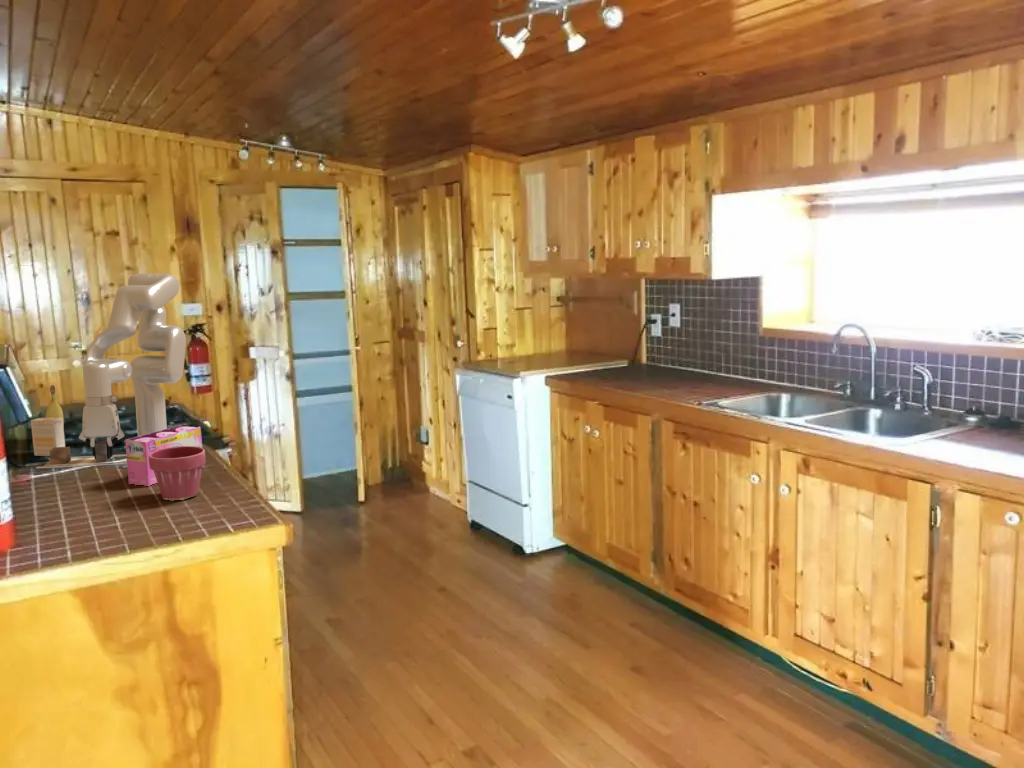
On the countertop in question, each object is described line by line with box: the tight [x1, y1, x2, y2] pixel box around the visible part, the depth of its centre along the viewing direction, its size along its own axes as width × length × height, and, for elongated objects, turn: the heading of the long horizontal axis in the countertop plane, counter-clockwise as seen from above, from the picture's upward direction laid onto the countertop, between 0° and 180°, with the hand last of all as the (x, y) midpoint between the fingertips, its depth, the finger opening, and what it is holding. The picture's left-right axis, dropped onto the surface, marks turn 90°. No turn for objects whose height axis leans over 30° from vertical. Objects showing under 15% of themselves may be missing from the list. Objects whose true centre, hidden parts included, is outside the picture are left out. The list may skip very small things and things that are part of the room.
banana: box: [45, 384, 65, 429], centre depth 277 cm, size 23×6×20 cm, turn 23°
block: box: [49, 446, 72, 465], centre depth 250 cm, size 4×4×4 cm
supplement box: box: [30, 417, 66, 457], centre depth 260 cm, size 8×5×13 cm, turn 84°
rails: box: [35, 453, 128, 469], centre depth 252 cm, size 30×12×2 cm, turn 102°
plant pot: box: [149, 446, 207, 499], centre depth 218 cm, size 14×14×13 cm
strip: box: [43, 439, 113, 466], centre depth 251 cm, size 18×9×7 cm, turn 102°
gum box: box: [124, 424, 205, 487], centre depth 239 cm, size 24×8×14 cm, turn 159°
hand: (103, 457), depth 253 cm, fingers closed on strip, 3 cm apart
